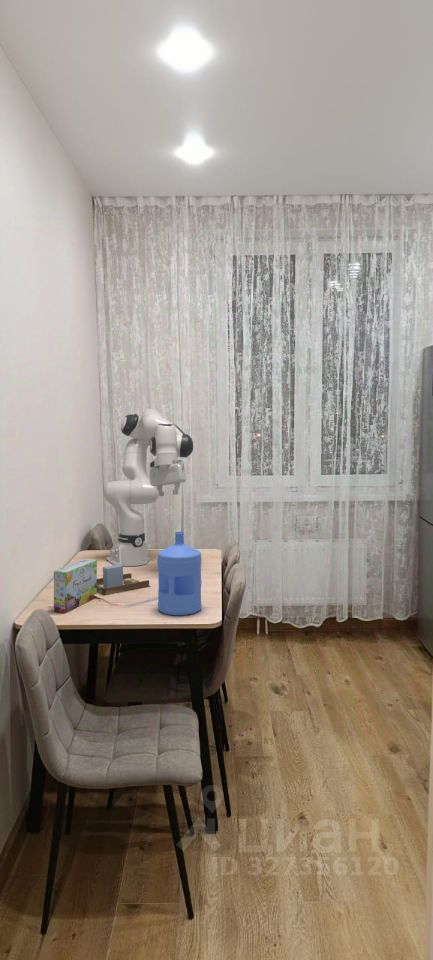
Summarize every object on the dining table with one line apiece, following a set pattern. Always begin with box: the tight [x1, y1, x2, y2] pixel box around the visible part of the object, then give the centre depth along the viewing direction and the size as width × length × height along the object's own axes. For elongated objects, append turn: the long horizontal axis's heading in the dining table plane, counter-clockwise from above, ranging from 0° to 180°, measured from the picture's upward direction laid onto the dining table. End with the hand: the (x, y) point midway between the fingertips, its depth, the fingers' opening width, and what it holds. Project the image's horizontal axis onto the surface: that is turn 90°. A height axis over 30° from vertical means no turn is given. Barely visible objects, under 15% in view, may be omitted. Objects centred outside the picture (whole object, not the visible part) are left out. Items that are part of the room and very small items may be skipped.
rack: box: [97, 572, 152, 600], centre depth 255 cm, size 15×21×4 cm
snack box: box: [53, 558, 98, 614], centre depth 236 cm, size 21×6×15 cm, turn 160°
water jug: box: [157, 531, 202, 616], centre depth 229 cm, size 16×16×28 cm
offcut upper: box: [123, 578, 140, 585], centre depth 258 cm, size 6×3×2 cm, turn 51°
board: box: [102, 564, 124, 588], centre depth 253 cm, size 4×7×10 cm, turn 127°
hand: (168, 495), depth 263 cm, fingers open, 8 cm apart
